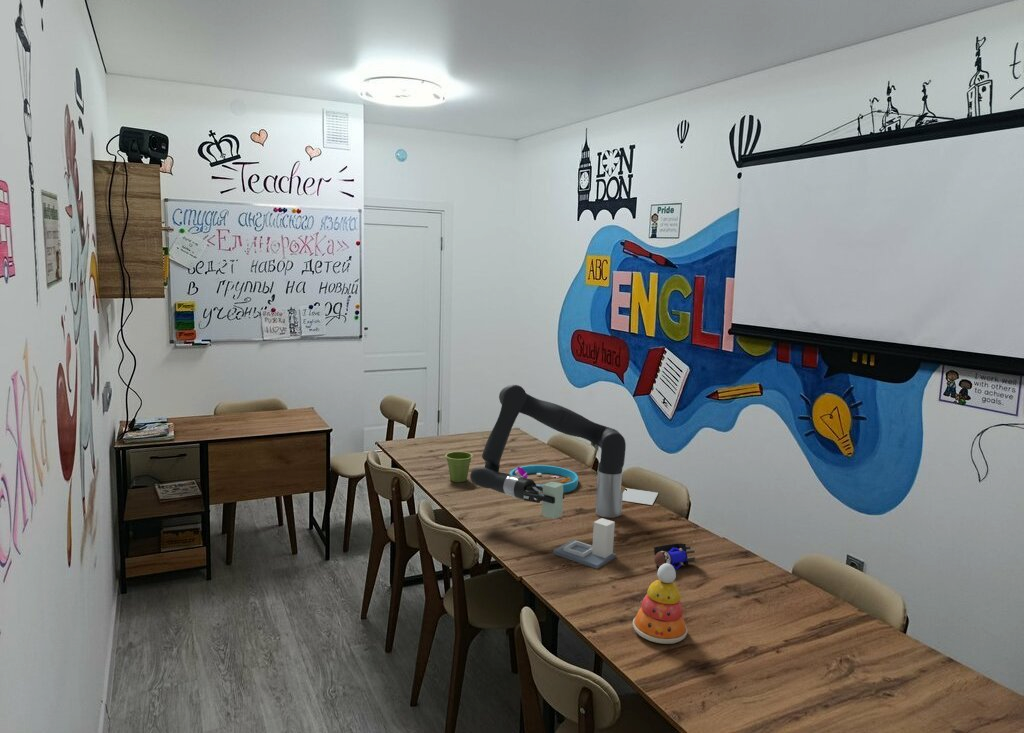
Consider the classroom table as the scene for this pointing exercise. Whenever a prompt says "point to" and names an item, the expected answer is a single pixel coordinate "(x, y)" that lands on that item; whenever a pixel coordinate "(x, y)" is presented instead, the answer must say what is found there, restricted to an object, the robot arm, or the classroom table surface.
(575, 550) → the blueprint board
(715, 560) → the classroom table surface
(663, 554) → the character figurine
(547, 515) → the sage pillar
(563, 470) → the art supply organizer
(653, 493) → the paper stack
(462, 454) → the plant pot
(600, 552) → the standing pillar
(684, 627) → the stacking toy
